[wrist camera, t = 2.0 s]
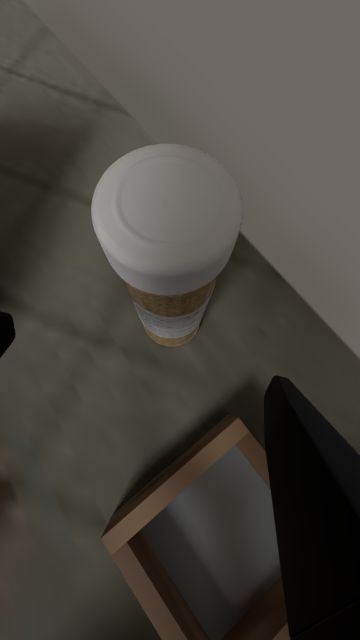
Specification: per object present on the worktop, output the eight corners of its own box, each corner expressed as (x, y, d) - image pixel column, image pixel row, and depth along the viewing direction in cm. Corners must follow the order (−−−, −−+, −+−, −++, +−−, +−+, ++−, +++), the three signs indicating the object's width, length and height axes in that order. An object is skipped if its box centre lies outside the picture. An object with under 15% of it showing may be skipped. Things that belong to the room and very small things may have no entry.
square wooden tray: (211, 671, 15) (219, 735, 12) (112, 514, 17) (100, 538, 14) (330, 542, 17) (361, 573, 14) (229, 413, 19) (238, 417, 16)
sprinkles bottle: (155, 284, 21) (126, 118, 8) (208, 303, 21) (265, 161, 8) (133, 336, 20) (57, 238, 7) (189, 357, 20) (217, 295, 7)
